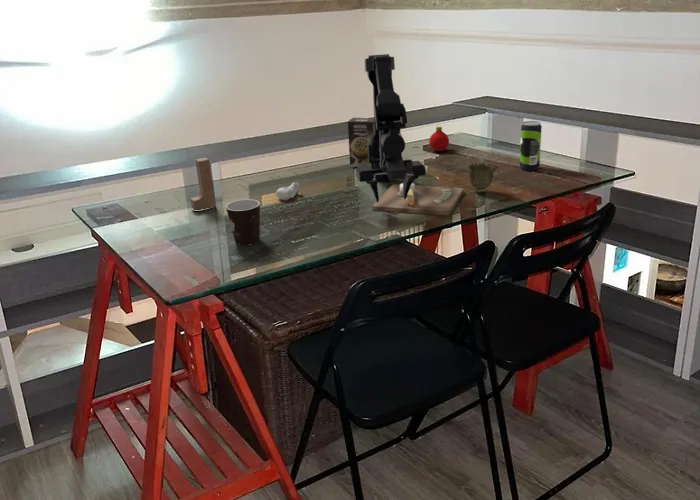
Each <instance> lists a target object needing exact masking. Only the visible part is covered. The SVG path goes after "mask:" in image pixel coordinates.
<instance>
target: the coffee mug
mask: <svg viewBox="0 0 700 500" xmlns="http://www.w3.org/2000/svg"><path fill="white" fill-rule="evenodd" d="M225 209H226V212H227V217H228V220H229V224H230V228H231V232H232V235H233V239H234V242H235V244H236V243H237V244H240V245H249V244H253V245H256V244H258V243H259V242H260V241H261V229H260V228H261V219H260V218H261V203H260V201H259V200H256V199H249V198H248V199H244V198H243V199H238V200H234V201H231V202H229V203H227V204H226V206H225ZM255 243H256V244H255ZM237 244H236V245H237ZM240 245H239V246H240ZM249 246H250V245H249Z"/></svg>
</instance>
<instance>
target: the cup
mask: <svg viewBox="0 0 700 500" xmlns="http://www.w3.org/2000/svg"><path fill="white" fill-rule="evenodd" d="M467 169H468V177H469V183H470V185H471V186H472V187H473V188H474V192H475V194H486V193H487V191H488V188H489V187H490V186H491V184H492V182H493V178H494V171H495V170H494V169H495V167H494V165H493V164H489V163H486V164H485V163H484V162H483V163H482V162H479V164H478V162H477V163H475V164H473V163H471V164H470V165H468V168H467Z"/></svg>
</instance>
